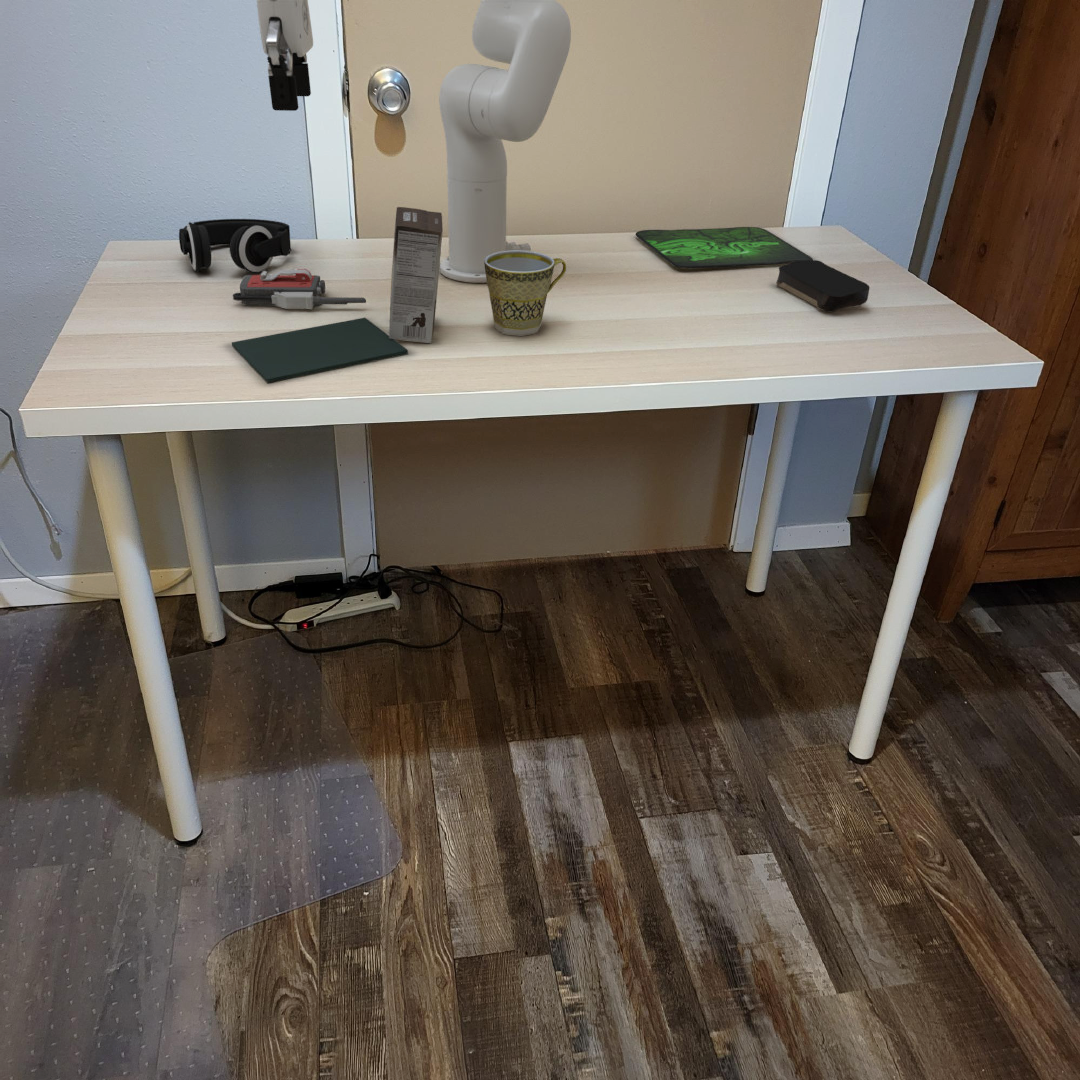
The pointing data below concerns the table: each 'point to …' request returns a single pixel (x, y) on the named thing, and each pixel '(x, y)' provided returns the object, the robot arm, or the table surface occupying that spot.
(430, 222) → the coffee box
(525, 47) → the robot arm
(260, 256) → the headphones
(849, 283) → the black flat block
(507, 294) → the ceramic cup
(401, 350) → the mat
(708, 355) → the table surface
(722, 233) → the mouse mat
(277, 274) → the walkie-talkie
